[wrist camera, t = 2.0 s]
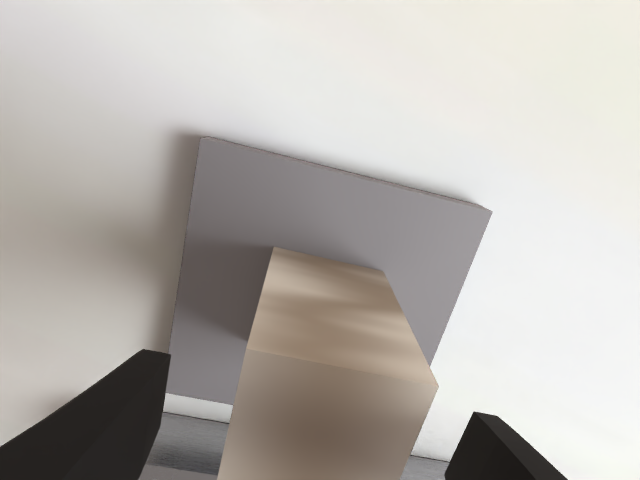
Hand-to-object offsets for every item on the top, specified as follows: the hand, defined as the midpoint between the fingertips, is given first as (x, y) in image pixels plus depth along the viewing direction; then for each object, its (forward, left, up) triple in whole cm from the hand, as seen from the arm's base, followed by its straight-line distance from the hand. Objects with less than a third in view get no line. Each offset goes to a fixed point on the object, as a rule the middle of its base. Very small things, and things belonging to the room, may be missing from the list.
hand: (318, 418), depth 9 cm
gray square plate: (0, 0, -6) cm, 6 cm away
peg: (0, 0, -5) cm, 5 cm away
